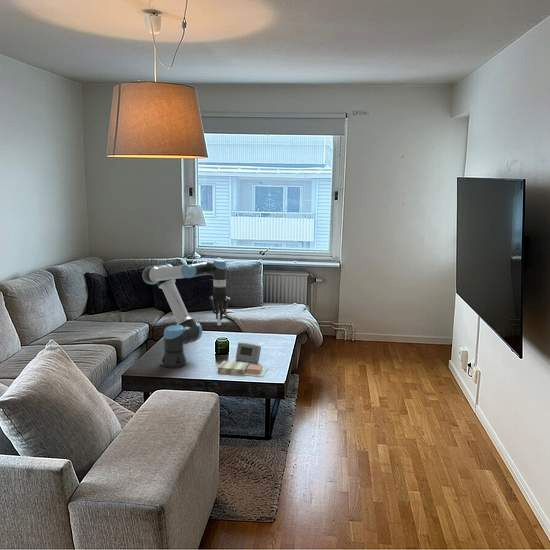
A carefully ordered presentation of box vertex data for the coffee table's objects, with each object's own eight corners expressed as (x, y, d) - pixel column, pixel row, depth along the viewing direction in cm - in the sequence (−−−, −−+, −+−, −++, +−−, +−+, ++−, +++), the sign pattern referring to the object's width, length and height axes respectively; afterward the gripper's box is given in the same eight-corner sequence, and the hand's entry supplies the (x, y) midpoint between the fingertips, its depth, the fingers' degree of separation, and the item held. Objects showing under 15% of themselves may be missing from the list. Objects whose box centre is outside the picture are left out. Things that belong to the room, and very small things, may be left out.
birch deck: (217, 372, 321) (218, 367, 320) (223, 365, 333) (223, 360, 332) (244, 374, 318) (244, 369, 318) (249, 367, 330) (249, 363, 329)
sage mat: (244, 375, 317) (244, 374, 317) (249, 367, 331) (249, 366, 331) (262, 377, 315) (262, 376, 315) (267, 368, 329) (267, 368, 329)
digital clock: (234, 359, 344) (234, 343, 342) (243, 356, 351) (243, 340, 349) (254, 365, 335) (254, 348, 333) (263, 361, 342) (263, 345, 340)
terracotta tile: (246, 372, 320) (246, 368, 320) (249, 368, 327) (249, 364, 327) (259, 373, 319) (259, 369, 318) (262, 369, 326) (262, 365, 325)
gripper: (207, 286, 319) (206, 325, 323) (228, 288, 316) (228, 327, 321) (210, 284, 326) (210, 322, 330) (231, 285, 324) (231, 323, 328)
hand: (219, 324), depth 325 cm, fingers closed
